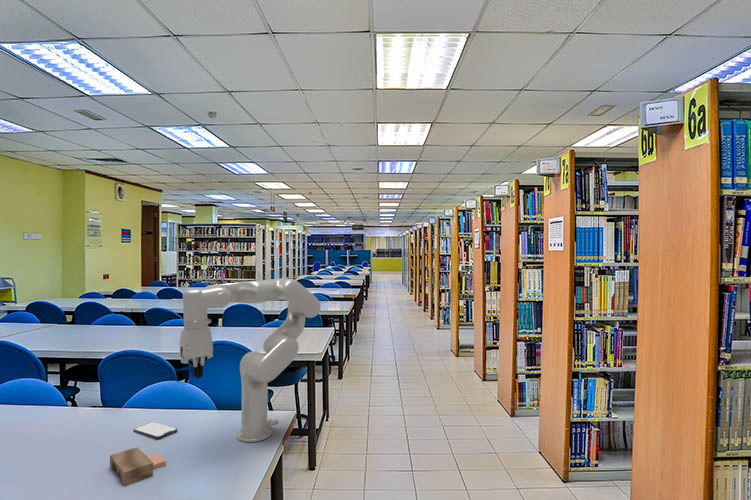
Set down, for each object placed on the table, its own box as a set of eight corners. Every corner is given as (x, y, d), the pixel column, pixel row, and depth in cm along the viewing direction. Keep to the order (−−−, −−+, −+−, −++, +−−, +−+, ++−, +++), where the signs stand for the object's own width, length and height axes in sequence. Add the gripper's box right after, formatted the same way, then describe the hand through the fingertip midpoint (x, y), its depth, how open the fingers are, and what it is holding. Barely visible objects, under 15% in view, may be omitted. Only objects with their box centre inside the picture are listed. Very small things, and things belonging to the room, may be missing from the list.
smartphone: (131, 433, 162) (157, 441, 154) (131, 429, 162) (157, 437, 154) (153, 425, 170) (179, 432, 162) (153, 421, 170) (179, 428, 162)
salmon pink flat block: (157, 459, 141) (157, 453, 141) (165, 467, 136) (165, 460, 136) (121, 471, 133) (121, 465, 133) (127, 480, 129) (127, 473, 129)
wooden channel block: (137, 458, 141) (137, 447, 141) (152, 475, 130) (153, 462, 130) (109, 467, 135) (110, 455, 135) (124, 485, 124) (124, 472, 124)
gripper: (212, 320, 153) (214, 369, 153) (169, 326, 142) (171, 380, 143) (221, 322, 147) (223, 374, 148) (177, 329, 137) (179, 385, 137)
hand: (198, 376), depth 145 cm, fingers closed
